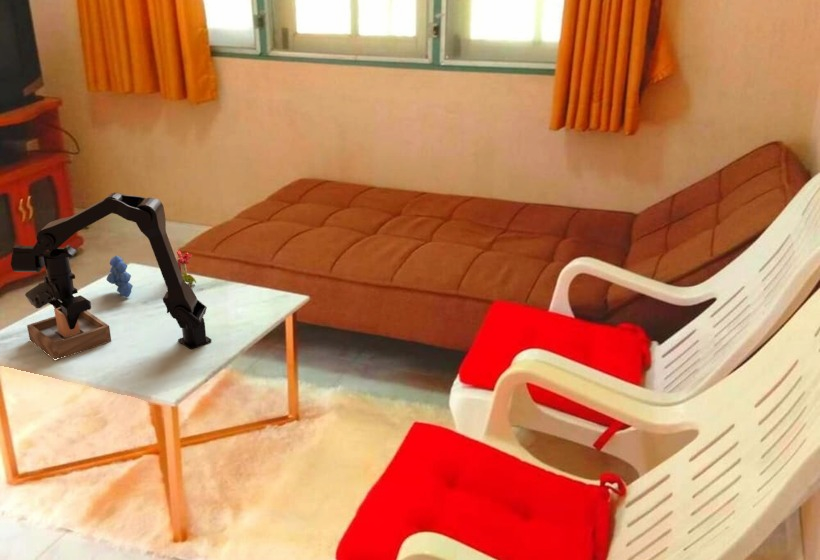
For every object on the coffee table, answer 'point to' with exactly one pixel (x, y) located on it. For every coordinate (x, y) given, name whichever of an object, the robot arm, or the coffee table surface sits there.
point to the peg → (65, 325)
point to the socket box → (57, 347)
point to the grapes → (120, 276)
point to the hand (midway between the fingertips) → (68, 326)
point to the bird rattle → (184, 267)
